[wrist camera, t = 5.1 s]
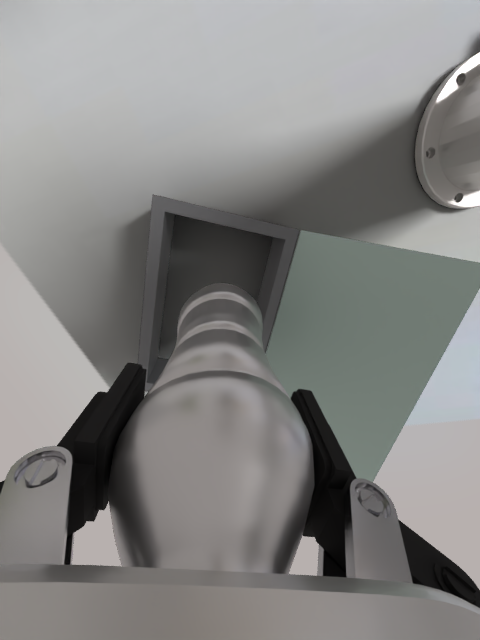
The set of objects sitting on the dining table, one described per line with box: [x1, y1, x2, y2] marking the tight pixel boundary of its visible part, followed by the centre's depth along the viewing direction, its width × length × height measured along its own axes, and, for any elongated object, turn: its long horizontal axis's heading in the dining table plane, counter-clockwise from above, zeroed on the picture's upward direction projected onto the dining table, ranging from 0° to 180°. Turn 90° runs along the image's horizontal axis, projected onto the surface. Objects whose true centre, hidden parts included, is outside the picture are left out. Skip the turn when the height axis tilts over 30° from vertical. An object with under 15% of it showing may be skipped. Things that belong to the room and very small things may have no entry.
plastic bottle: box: [108, 283, 315, 574], centre depth 12 cm, size 6×7×20 cm
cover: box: [266, 230, 480, 482], centre depth 20 cm, size 18×12×1 cm
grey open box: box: [138, 195, 300, 392], centre depth 25 cm, size 18×12×5 cm, turn 168°
